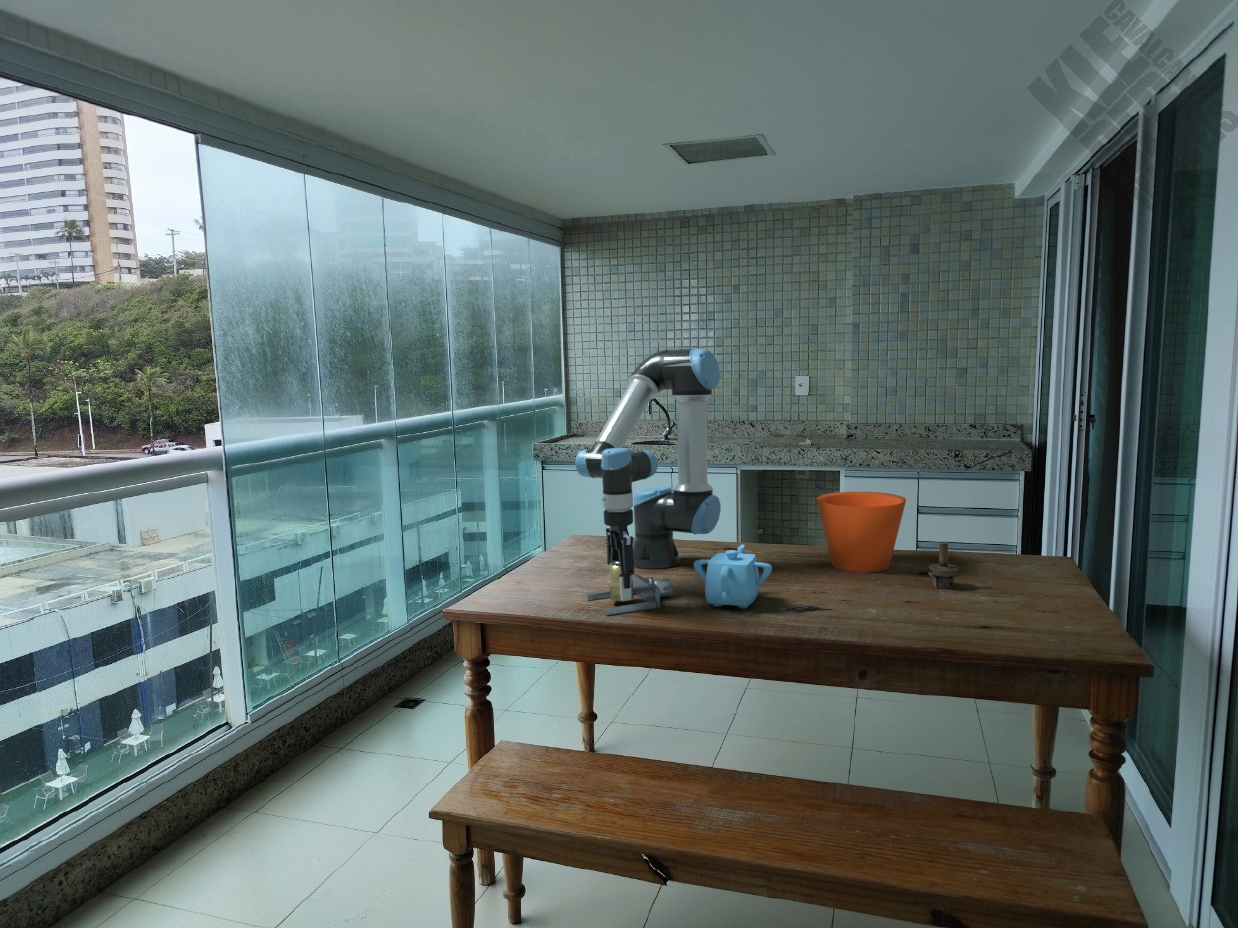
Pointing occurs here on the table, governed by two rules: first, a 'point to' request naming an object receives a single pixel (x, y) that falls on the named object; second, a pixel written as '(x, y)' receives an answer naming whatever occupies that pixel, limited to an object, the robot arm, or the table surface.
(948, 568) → the industrial component
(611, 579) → the yellow jar
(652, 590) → the flange cradle
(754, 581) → the light blue boxy pot
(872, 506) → the flowerpot
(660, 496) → the robot arm
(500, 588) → the table surface
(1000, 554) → the table surface
